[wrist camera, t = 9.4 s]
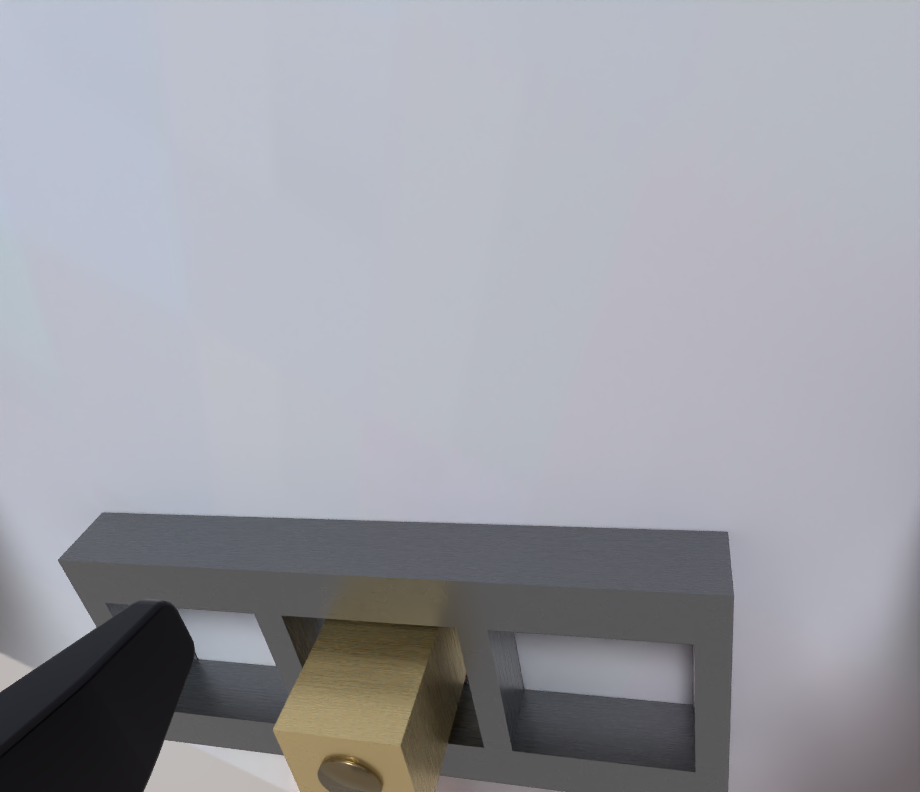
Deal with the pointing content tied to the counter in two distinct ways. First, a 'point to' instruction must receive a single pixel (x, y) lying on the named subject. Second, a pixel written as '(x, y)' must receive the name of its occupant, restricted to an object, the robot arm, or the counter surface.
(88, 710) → the robot arm
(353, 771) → the brass block
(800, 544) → the counter surface
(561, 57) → the counter surface
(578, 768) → the tray
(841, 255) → the counter surface
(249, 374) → the counter surface
